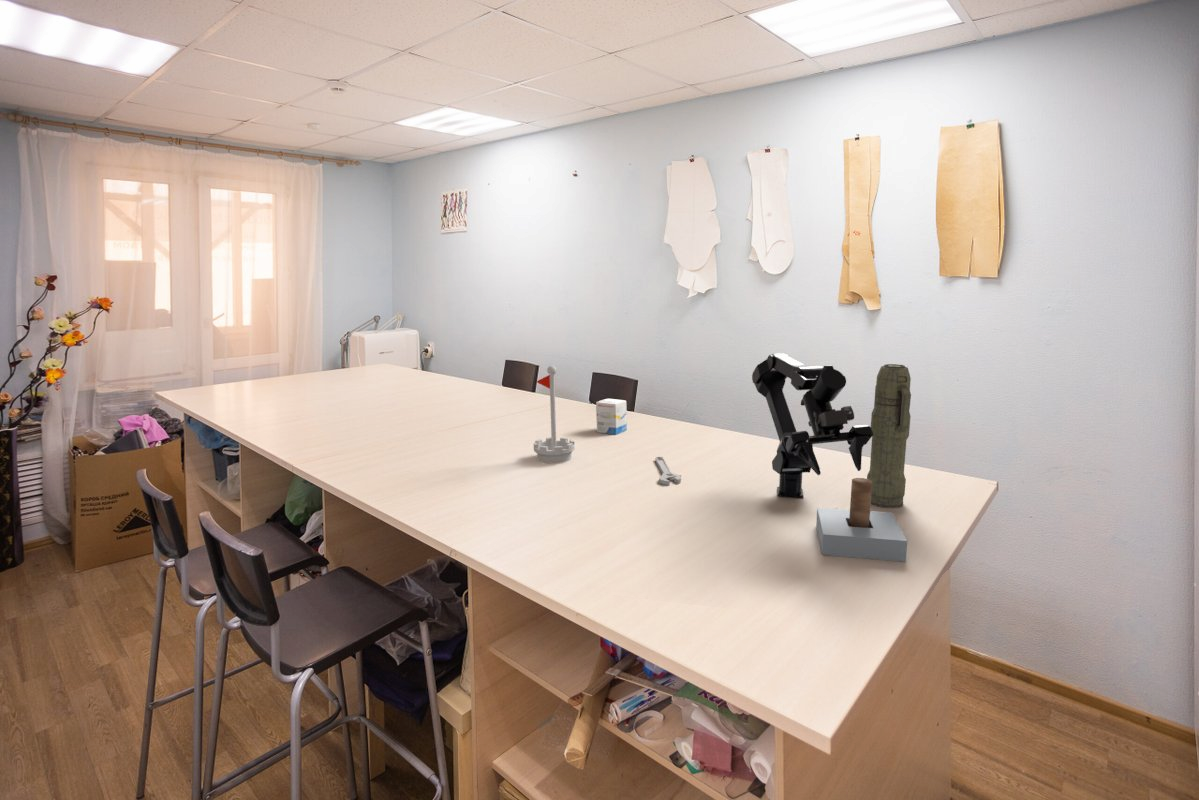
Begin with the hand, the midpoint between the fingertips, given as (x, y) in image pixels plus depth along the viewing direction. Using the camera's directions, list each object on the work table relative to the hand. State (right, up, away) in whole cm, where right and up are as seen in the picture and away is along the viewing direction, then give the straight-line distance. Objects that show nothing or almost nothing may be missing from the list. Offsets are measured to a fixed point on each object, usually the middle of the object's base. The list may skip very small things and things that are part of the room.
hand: (839, 472), depth 146 cm
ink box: (-49, +4, +98) cm, 109 cm away
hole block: (+2, -15, -5) cm, 16 cm away
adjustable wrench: (-34, -6, +47) cm, 58 cm away
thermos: (+19, -10, +19) cm, 29 cm away
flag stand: (-68, -3, +63) cm, 93 cm away
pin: (+2, -14, -5) cm, 15 cm away
